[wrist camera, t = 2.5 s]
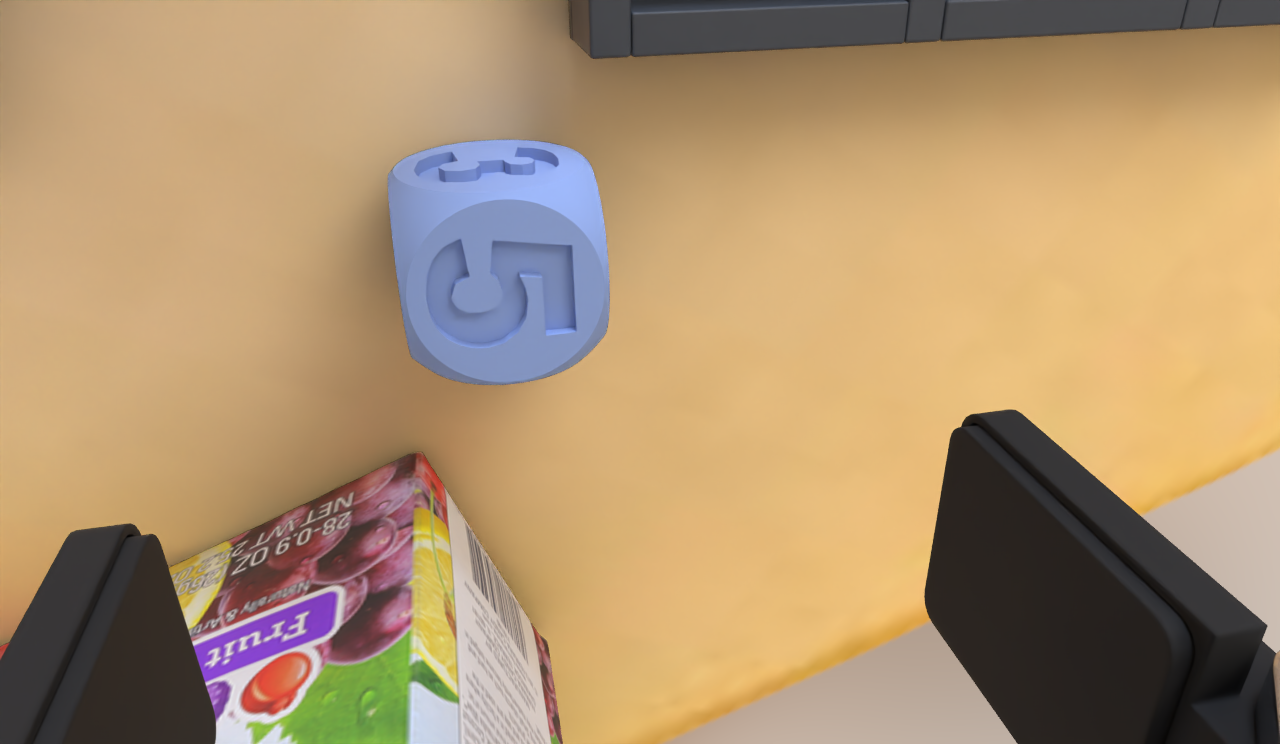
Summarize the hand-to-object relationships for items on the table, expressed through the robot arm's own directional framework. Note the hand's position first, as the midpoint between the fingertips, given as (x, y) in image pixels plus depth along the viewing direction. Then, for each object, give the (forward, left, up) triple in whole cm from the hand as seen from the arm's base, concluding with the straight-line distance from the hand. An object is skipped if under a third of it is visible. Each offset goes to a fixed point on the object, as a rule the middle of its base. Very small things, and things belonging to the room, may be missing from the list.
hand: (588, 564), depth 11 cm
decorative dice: (0, 0, -12) cm, 12 cm away
